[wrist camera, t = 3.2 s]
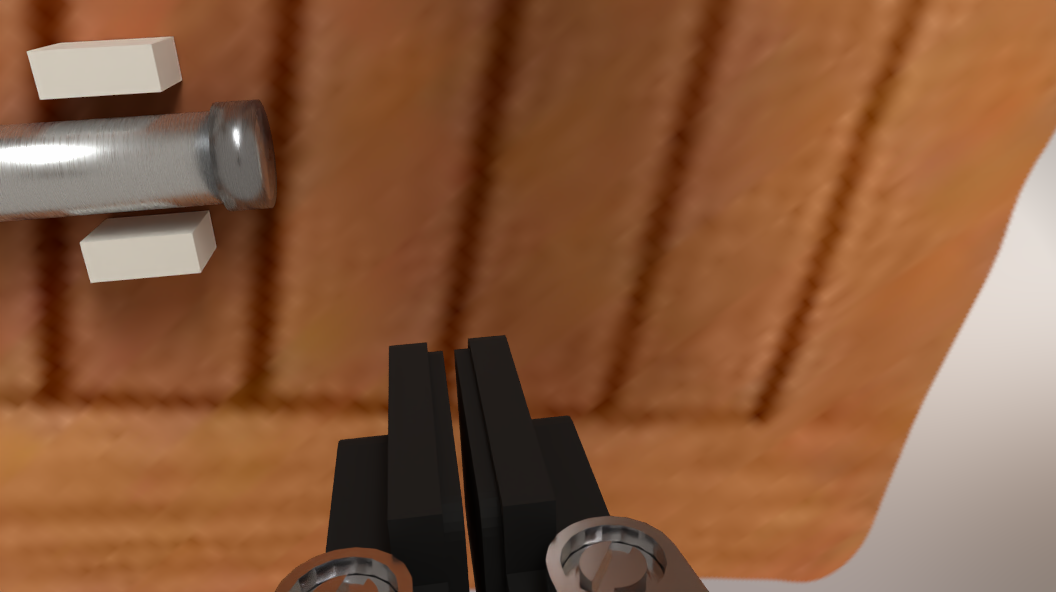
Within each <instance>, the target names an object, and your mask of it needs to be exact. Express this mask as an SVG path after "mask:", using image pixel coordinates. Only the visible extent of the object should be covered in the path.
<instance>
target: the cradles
mask: <svg viewBox="0 0 1056 592" xmlns="http://www.w3.org/2000/svg"><path fill="white" fill-rule="evenodd" d="M27 54H28V58H29V61H30V65H31V69H32V72H33V76H34V79H35V83H36V87H37V90H38V94H39V98H40V100H42V99H58V98H73V97H89V96H105V95H120V94H136V93H152V92H162V91H164V90H166V89H168V88H169V87H171V86H173V85H175V84H176V83H178V82H180V81H182V76H181V71H180V66H179V62H178V57H177V52H176V47H175V42H174V37H156V38H138V39H120V40H102V41H84V42H66V43H58V44H54V45H50V46H46V47H42V48H38V49H34V50H30V51H27ZM80 246H81V250H82V253H83V257H84V261H85V264H86V268H87V271H88V275H89V279H90V282H91V283H94V282H105V281H117V280H128V279H139V278H150V277H161V276H172V275H183V274H194V273H201V272H202V270H203V269H204V267H205V265H206V264H207V262H208V261H209V259H210V257H211V256H212V254H213V252H214V251H215V249H216V248H217V246H216V241H215V237H214V232H213V227H212V222H211V217H210V212H209V210H208V211H196V212H183V213H171V214H159V215H147V216H134V217H122V218H110V219H105V220H104V221H103V222H102V223H101V224H100V225H99V226H98V227H97V228H95V229H94V230H93V231H92V232H91V233H90V234H89V235H88V236H86V237H85V238H84V239H83V240H82V241H81V242H80Z"/></svg>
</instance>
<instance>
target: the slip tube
mask: <svg viewBox="0 0 1056 592" xmlns="http://www.w3.org/2000/svg"><path fill="white" fill-rule="evenodd" d="M276 194H277V177H276V163H275V155H274V148H273V142H272V136H271V131H270V127H269V123H268V119H267V116H266V113H265V110H264V107H263V105H262V103H261V102H260V101H259V100H244V101H229V102H215V103H213V104H212V106H211V109H210V111H206V112H191V113H176V114H161V115H146V116H131V117H116V118H101V119H86V120H71V121H57V122H42V123H27V124H12V125H0V222H4V221H17V220H29V219H41V218H54V217H66V216H79V215H91V214H103V213H116V212H128V211H140V210H153V209H165V208H178V207H190V206H202V205H215V204H224V206H225V207H226V208H227V210H229V211H240V210H253V209H265V208H273V207H274V205H275V202H276Z"/></svg>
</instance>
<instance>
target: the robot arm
mask: <svg viewBox="0 0 1056 592" xmlns="http://www.w3.org/2000/svg"><path fill="white" fill-rule="evenodd" d="M454 354H455V369H456V383H457V397H458V411H459V425H460V439H461V453H462V467H463V481H464V495H465V508H466V519H467V528H468V535H469V543H470V550H471V558H472V565H473V573H474V580H475V588H476V592H709V591H708V590H707V588H706V587H705V586H704V584H703V583H702V581H701V580H700V579H699V577H698V576H697V575H696V573H695V572H694V570H693V569H692V568H691V566H690V565H689V564H688V562H687V561H686V559H685V558H684V557H683V555H682V554H681V553H680V551H679V550H678V548H677V547H676V546H675V544H674V543H673V542H672V541H671V540H670V539H669V538H668V537H667V536H666V535H665V534H664V533H663V532H661V531H659V530H658V529H656V528H654V527H652V526H650V525H649V524H647V523H644V522H641V521H637V520H634V519H630V518H626V517H614V516H610V515H609V512H608V510H607V507H606V505H605V502H604V500H603V497H602V495H601V492H600V489H599V487H598V484H597V482H596V479H595V477H594V474H593V472H592V469H591V467H590V464H589V462H588V459H587V457H586V454H585V451H584V449H583V446H582V444H581V441H580V439H579V436H578V434H577V431H576V429H575V426H574V424H573V421H572V419H571V418H570V416H559V417H550V418H541V419H531V417H530V414H529V411H528V407H527V404H526V401H525V397H524V394H523V391H522V388H521V384H520V381H519V378H518V375H517V371H516V368H515V365H514V361H513V358H512V355H511V352H510V348H509V345H508V342H507V338H506V336H505V335H502V336H492V337H481V338H470V339H468V349H458V350H454ZM275 592H469V580H468V566H467V553H466V539H465V527H464V516H463V506H462V497H461V489H460V482H459V474H458V466H457V458H456V451H455V443H454V435H453V428H452V420H451V412H450V404H449V397H448V389H447V381H446V373H445V366H444V358H443V351H437V352H428V350H427V343H416V344H405V345H395V346H389V409H388V435H382V436H373V437H363V438H354V439H345V440H340V441H339V443H338V449H337V458H336V467H335V475H334V484H333V493H332V501H331V510H330V519H329V528H328V536H327V545H326V553H324V554H321V555H318V556H315V557H313V558H312V559H310V560H308V561H306V562H305V563H303V564H301V565H299V566H298V567H296V568H295V569H294V570H293V571H292V572H291V573H289V574H288V575H287V576H286V577H285V578H284V579H283V580H282V581H281V582H280V584H279V586H278V587H277V589H276V591H275Z"/></svg>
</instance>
